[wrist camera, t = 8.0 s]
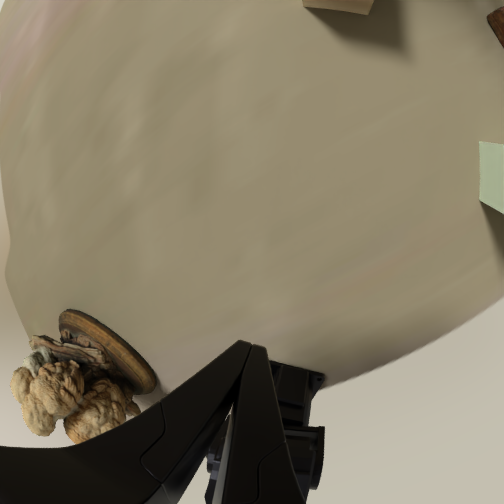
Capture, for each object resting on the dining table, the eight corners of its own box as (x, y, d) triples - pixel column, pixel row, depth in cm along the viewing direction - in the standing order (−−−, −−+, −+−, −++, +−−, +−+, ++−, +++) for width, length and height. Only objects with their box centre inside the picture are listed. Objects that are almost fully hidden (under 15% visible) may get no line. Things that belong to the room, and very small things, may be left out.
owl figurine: (62, 338, 36) (-1, 402, 21) (57, 286, 30) (-29, 357, 15) (152, 401, 35) (99, 486, 20) (164, 361, 30) (90, 474, 15)
